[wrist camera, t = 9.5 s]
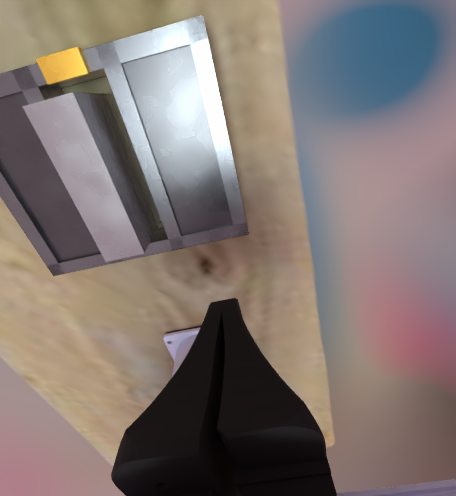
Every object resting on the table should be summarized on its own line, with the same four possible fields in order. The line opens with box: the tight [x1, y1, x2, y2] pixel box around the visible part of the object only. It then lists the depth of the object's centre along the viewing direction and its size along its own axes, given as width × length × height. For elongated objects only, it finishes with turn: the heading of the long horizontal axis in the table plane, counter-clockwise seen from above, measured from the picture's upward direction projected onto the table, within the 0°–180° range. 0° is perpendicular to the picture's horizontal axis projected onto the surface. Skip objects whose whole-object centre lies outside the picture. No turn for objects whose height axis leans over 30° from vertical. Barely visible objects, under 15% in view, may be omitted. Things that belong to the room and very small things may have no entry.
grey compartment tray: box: [0, 15, 249, 276], centre depth 19 cm, size 13×16×3 cm
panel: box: [22, 92, 161, 262], centre depth 17 cm, size 9×3×6 cm, turn 13°
